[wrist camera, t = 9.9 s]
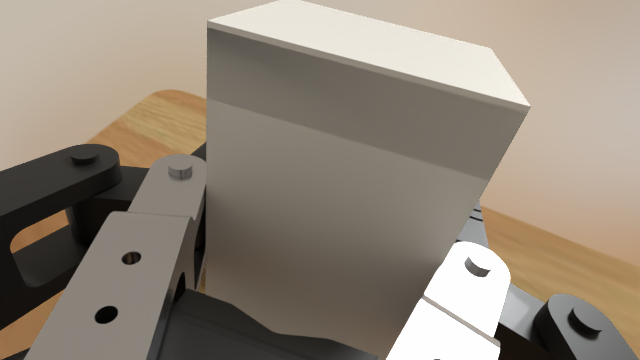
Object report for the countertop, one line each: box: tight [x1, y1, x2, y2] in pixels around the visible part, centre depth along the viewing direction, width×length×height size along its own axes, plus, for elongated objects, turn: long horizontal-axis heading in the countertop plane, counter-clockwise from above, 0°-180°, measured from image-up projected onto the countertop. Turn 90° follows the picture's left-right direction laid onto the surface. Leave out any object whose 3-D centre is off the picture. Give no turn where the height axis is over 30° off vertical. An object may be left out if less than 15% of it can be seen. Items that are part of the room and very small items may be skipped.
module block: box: [205, 0, 531, 360], centre depth 10 cm, size 5×4×11 cm
